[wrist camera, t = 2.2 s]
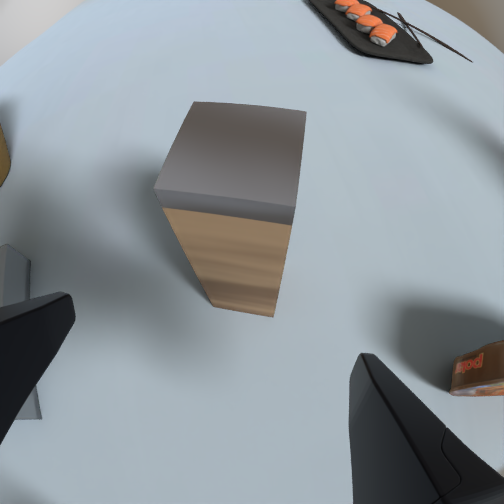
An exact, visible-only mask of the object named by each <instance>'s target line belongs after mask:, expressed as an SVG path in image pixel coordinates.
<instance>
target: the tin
mask: <svg viewBox="0 0 504 504" xmlns="http://www.w3.org/2000/svg"><path fill="white" fill-rule="evenodd" d="M449 393H450V394H451V395H453V396H498V395H504V340H502V341H498V342H494V343H491V344H488V345H485V346H483V347H481V348H480V349H478V350H475V351H472V352H470V353H467V354H464V355H462V356H458V357H456V358H455V360H454V364H453V372H452V384H451V390H450V391H449Z"/></svg>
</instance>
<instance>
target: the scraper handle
mask: <svg viewBox="0 0 504 504" xmlns="http://www.w3.org/2000/svg"><path fill="white" fill-rule="evenodd" d="M305 122H306V112H305V111H299V110H292V109H284V108H276V107H267V106H257V105H246V104H233V103H216V102H193V104H192V106H191V108H190V110H189V112H188V114H187V116H186V118H185V120H184V122H183V124H182V126H181V128H180V130H179V132H178V134H177V136H176V138H175V140H174V142H173V144H172V146H171V149H170V151H169V153H168V155H167V157H166V160H165V162H164V164H163V166H162V169H161V171H160V173H159V175H158V178H157V180H156V182H155V185H154V187H153V190H154V192H155V194H156V196H157V198H158V200H159V202H160V204H161V206H162V209H163V211H164V213H165V215H166V217H167V219H168V221H169V223H170V225H171V227H172V229H173V231H174V233H175V235H176V237H177V239H178V241H179V243H180V245H181V247H182V249H183V250H184V252H185V254H186V256H187V258H188V260H189V262H190V264H191V266H192V268H193V270H194V272H195V273H196V275H197V277H198V279H199V281H200V283H201V285H202V287H203V288H204V290H205V292H206V294H207V296H208V298H209V299H210V301H211V303H212V305H213V307H217V308H222V309H228V310H233V311H239V312H245V313H250V314H256V315H262V316H268V317H274V312H275V308H276V303H277V298H278V294H279V289H280V284H281V279H282V274H283V269H284V264H285V259H286V254H287V249H288V244H289V239H290V234H291V229H292V223H293V218H294V213H295V207H296V200H297V192H298V184H299V176H300V167H301V159H302V150H303V141H304V132H305Z"/></svg>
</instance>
